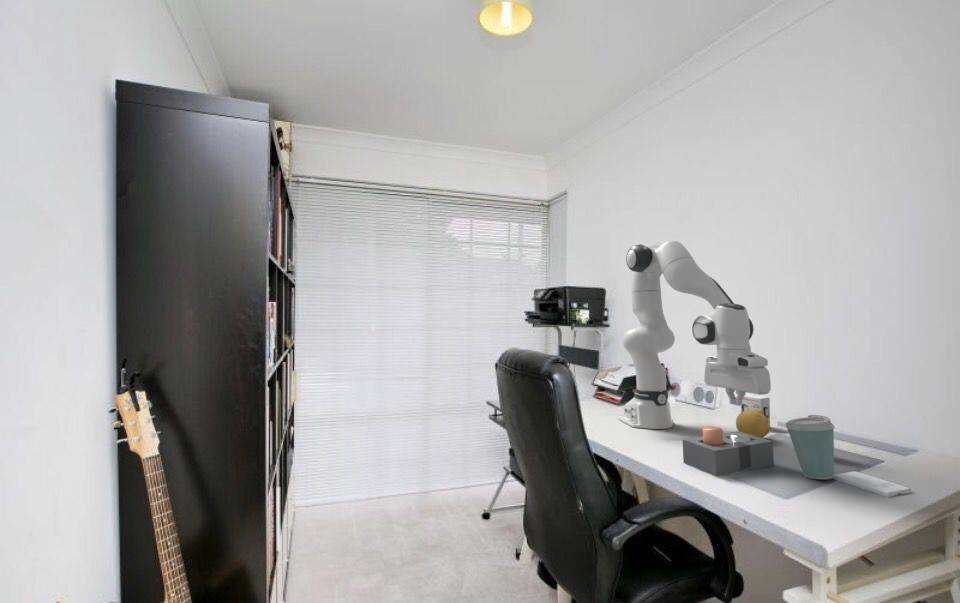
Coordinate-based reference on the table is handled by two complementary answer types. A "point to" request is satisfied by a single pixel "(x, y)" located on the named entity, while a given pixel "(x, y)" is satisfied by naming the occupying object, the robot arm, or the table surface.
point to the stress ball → (752, 423)
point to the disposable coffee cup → (813, 445)
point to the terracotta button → (712, 436)
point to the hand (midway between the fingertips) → (736, 404)
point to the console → (728, 455)
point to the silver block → (740, 437)
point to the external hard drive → (872, 483)
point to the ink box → (757, 404)
